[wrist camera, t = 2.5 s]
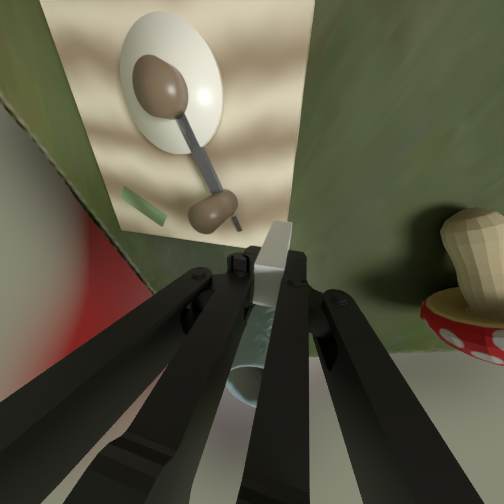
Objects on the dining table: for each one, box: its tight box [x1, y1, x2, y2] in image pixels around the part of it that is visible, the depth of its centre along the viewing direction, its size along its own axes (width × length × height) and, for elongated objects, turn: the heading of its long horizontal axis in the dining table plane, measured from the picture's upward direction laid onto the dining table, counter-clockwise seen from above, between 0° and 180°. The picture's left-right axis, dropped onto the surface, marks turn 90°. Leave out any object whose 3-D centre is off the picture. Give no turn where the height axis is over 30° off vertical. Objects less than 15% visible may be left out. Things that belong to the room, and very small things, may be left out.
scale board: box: [40, 0, 315, 248], centre depth 21 cm, size 24×25×2 cm
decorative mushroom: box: [420, 208, 504, 366], centre depth 18 cm, size 11×11×15 cm
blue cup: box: [226, 304, 276, 408], centre depth 28 cm, size 10×10×12 cm
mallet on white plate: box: [120, 11, 238, 234], centre depth 17 cm, size 18×10×6 cm, turn 23°
